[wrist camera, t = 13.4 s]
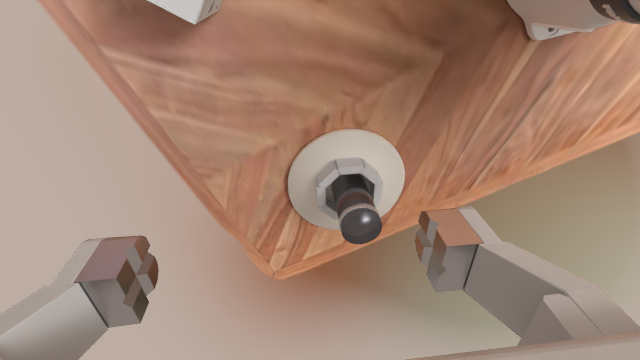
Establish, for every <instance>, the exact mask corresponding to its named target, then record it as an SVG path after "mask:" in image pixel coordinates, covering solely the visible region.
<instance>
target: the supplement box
mask: <svg viewBox="0 0 640 360" xmlns="http://www.w3.org/2000/svg"><path fill="white" fill-rule="evenodd" d="M147 1H149V2H151V3H153V4H155V5H157V6H159V7H161V8H163V9H165V10H167V11H169V12H171V13H172V14H174V15H176V16H178V17H180V18H182V19H184V20H186V21H188V22H190V23H192V24H194V25H195V24H197V23H198V22H200V21H202V20H203V19H205V18H207V17H209V16H211V15H212V14H214V13H216V12H218V11H219V9H220V6H221V2H222V0H147Z"/></svg>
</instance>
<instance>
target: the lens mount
mask: <svg viewBox="0 0 640 360" xmlns="http://www.w3.org/2000/svg"><path fill="white" fill-rule="evenodd" d="M358 173H360V174H361V175H362V176H363V178H364V180H365V183H366V185H367V188H368V190H369V193H370V195H371V198H372V200H373V203H374V205H375V207H376V209H377V211H378V213H379V215H380V217H382V216H383V215H384V214H386V213H387V212H388V211H389V210H390V209H391V208H392V207H393V205H394V204H395V203H396V201H397V200H398V198H399V196H400V194H401V192H402V189H403V186H404V181H405V170H404V165H403V161H402V159H401V157H400V155H399V153H398V152H397V150H396V149H395V147H394V146H393V145H392V144H391V143H390V142H389V141H388V140H387V139H385V138H384V137H382V136H381V135H379V134H377V133H374V132H372V131H368V130H364V129H357V128H345V129H338V130H334V131H330V132H328V133H325V134H323V135H321V136H319V137H317V138H315V139H314V140H312V141H311V142H309V143H308V144H307V145H306V146H305V147H304V148H303V149H302V150H301V151H300V152H299V153H298V155H297V156H296V158H295V159H294V161H293V163H292V165H291V168H290V171H289V175H288V193H289V197H290V200H291V203H292V205H293V207H294V208H295V210H296V211H297V212H298V213H299V214H300V215H301V216H302V217H303V218H304V219H305V220H307V221H308V222H310V223H312V224H314V225H316V226H318V227H321V228H325V229H330V230H340V227H339V219H338V215H337V210H336V206H335V202H334V198H333V193H332V189H331V184H332V182H333V181H334V180H335V179H336V178H337V177H338V176H339V175H345V174H358Z"/></svg>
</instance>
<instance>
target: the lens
mask: <svg viewBox="0 0 640 360" xmlns="http://www.w3.org/2000/svg"><path fill="white" fill-rule="evenodd" d="M331 189H332V193H333V198H334V202H335V206H336V210H337V215H338V219H339V227H340V230H341V232H342V235H343V237H344V238H345V240H347V241H348V242H350V243H354V244H364V243H367V242H370V241H372V240H373V239H375V238H376V237H377V236H378V235H379V234H380V232H381V229H382V223H381V218H380V215H379V213H378V211H377V209H376V207H375V205H374V203H373V200H372V198H371V195H370V193H369V190H368V188H367V185H366V183H365V180H364V178H363V176H362V175H361V174H360V173H358V174H345V175H339V176H338V177H337V178H336V179H335V180H334V181H333V182H332V184H331Z"/></svg>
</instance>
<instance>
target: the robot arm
mask: <svg viewBox="0 0 640 360" xmlns="http://www.w3.org/2000/svg"><path fill="white" fill-rule="evenodd" d="M507 1H508V3H509V5H510V6H511V8H512V9H513V10H514V11H515V12H516V13H517V14H518V15H519V16H520V17H521V18H522V19H523V20H524V23H525V27H526V30H527V33H528V36H529V37H530V38H531V39H532V40H539V41H541V40H545V39H549V38H553V37H557V36H561V35H565V34H569V33H573V32H577V31H578V32H592V31H593V30H594V29H595V28H600V27H604V26H608V25H611V24H614V23H617V22H625V23H632V24H640V0H507ZM549 28H550V30H548V29H549ZM418 222H419V224H420V225H421V229H420V230H419V231H418V232H417V233H416V239H415V243H416V251H417V254H418V257H419V259H420V261H421V263H422V264H424V265H425V266H427V267H428V270H427V276H428V278H429V280H430V282H431V284H432V286H433V288H434V290H435V292H442V291H454V290H464V292H465V293H466V294H468V295H469V296H471V298H473V299H474V300H475V301H476V302H478V303H479V304H480V305H481V306H483V307H484V308H485V309H486V310H488V311H489V312H490V313H491V314H492V315H494V316H495V317H496V318H497V319H499V320H500V321H501V322H502V323H504V324H505V325H506V326H507V327H508V328H510V329H511V330H512V331H513V332H515V333H516V334H517V335H518V336H520V337H521V340H520V342H519V343H518V345H517V346H514V347H506V348H498V349H489V350H481V351H473V352H464V353H456V354H448V355H440V356H432V357H423V358H415V359H407V360H640V327H639V326H638V325H637V324H636V323H635V322H634V321H633V320H632V319H631V318H630V317H629V316H628V315H627V314H626V313H625V312H624V311H623V310H622V309H621V308H620V307H619V306H618V305H617V304H616V303H615V302H614V301H613V300H612V299H611V298H610V297H609V296H608V295H607V294H606V293H605V292H604V291H603V290H602V289H601V288H599V287H597V286H595V285H593V284H591V283H589V282H587V281H585V280H583V279H581V278H579V277H577V276H575V275H573V274H571V273H569V272H567V271H565V270H563V269H561V268H559V267H557V266H555V265H553V264H551V263H549V262H547V261H545V260H543V259H541V258H539V257H537V256H535V255H533V254H531V253H529V252H527V251H525V250H523V249H521V248H519V247H517V246H515V245H513V244H511V243H509V242H502V241H501V240H500V239H499V238H498V236H497V235H496V234H495V233H494V232H493V230H492V229H491V228H490V227H489V226H488V224H487V223H486V222H485V221H484V220H483V218H482V217H481V216H480V215H479V214H478V212H477V211H476V210H475V209H474V208H473V207H471V206H466V207H457V208H451V209H440V210H430V211H422V212H421V214H420V216H419V221H418ZM149 247H150V244H149V242H148V240H147V238H146V237H144V236H128V237H113V238H103V239H88V240H86V241H84V242H82V243H81V245H80V246H79V247H78V249H77V250H76V252H75V253H74V254H73V256H72V257H71V258H70V260H69V261H68V262H67V264H66V265H65V266H64V268H63V269H62V270H61V272H60V273H59V274H58V276H57V277H56V278H55V280H54V281H53V282H52V284H51V285H50V286H43V287H42V288H40V289H39V290H37V291H36V292H34V293H32V294H31V295H29V296H28V297H26V298H25V299H23V300H22V301H20V302H19V303H17V304H15V305H14V306H12V307H11V308H9V309H8V310H6V311H4V312H3V313H1V314H0V360H78V359H79V358H80V357H81V356H82V355H83V354H84V353H85V352H86V351H87V350H88V349H89V348H90V347H91V346H92V345H93V344H94V343H95V342H96V341H97V340H98V339H99V338H100V337H101V336H102V335H103V334H104V333H105V332H106V331H107V330H108V328H109V327H115V326H124V325H131V324H138V323H141V321H142V318H143V316H144V313H145V311H146V308H147V306H148V304H149V301H148V299H147V297H146V296H147V295H148V294H149V293H150V292H151V291H153V290H154V288H155V286H156V283H157V280H158V264H157V261H156V259H155V257H154V256H153V255H151V254H150V253H148V252H147V251H148V249H149Z"/></svg>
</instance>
